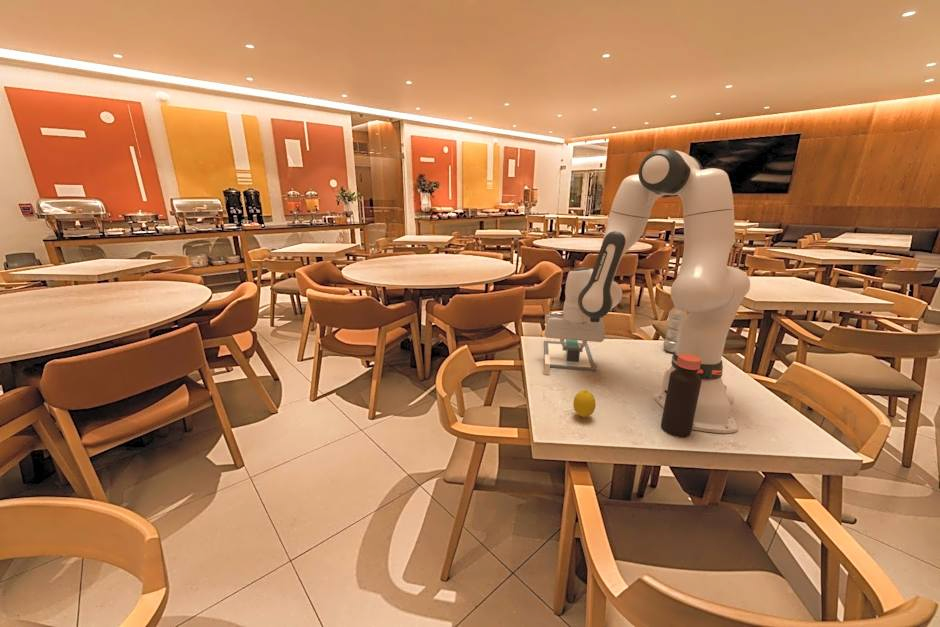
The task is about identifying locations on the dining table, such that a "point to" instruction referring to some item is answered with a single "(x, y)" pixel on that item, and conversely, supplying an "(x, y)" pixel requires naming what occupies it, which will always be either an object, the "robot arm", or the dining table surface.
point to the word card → (546, 364)
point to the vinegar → (682, 396)
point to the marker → (572, 350)
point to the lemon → (584, 403)
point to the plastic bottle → (674, 328)
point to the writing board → (560, 357)
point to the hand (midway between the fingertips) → (572, 350)
